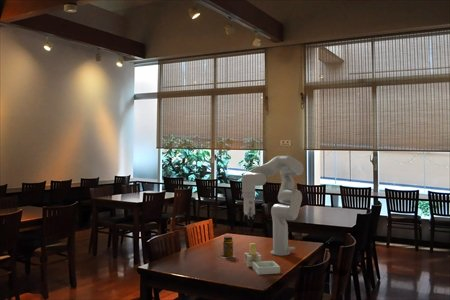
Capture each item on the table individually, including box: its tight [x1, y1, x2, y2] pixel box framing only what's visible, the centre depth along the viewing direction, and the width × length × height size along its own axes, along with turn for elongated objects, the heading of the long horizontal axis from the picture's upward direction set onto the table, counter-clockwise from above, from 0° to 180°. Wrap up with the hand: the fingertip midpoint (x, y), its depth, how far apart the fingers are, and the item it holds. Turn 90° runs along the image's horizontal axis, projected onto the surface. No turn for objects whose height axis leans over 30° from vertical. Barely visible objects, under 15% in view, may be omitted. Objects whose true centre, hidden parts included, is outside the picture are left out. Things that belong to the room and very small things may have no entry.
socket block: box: [243, 251, 262, 268], centre depth 228 cm, size 8×8×6 cm
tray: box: [252, 260, 281, 276], centre depth 216 cm, size 12×12×4 cm
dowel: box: [249, 242, 257, 255], centre depth 228 cm, size 4×4×12 cm
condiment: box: [218, 236, 236, 259], centre depth 247 cm, size 7×8×12 cm
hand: (248, 224), depth 229 cm, fingers open, 9 cm apart
